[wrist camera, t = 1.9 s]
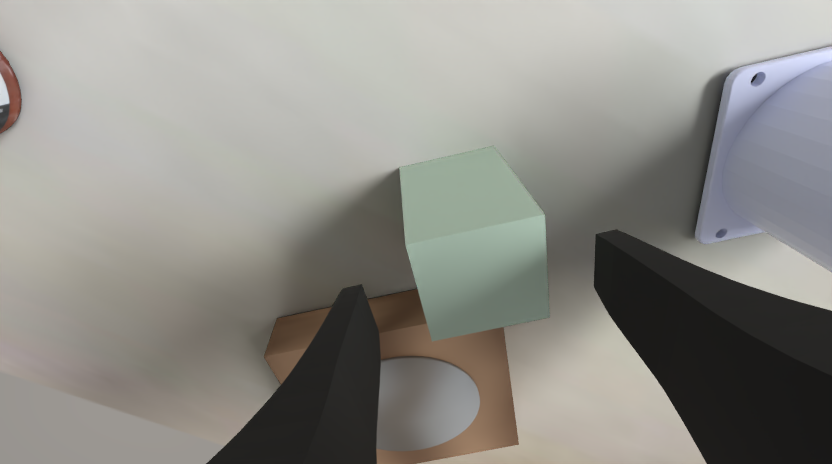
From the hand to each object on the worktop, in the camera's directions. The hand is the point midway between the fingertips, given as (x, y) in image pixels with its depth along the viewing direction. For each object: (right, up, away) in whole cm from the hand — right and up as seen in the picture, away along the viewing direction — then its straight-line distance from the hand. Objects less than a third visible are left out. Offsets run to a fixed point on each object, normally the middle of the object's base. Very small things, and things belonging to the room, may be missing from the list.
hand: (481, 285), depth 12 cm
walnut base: (-3, -6, +11) cm, 12 cm away
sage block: (0, +3, +5) cm, 6 cm away
